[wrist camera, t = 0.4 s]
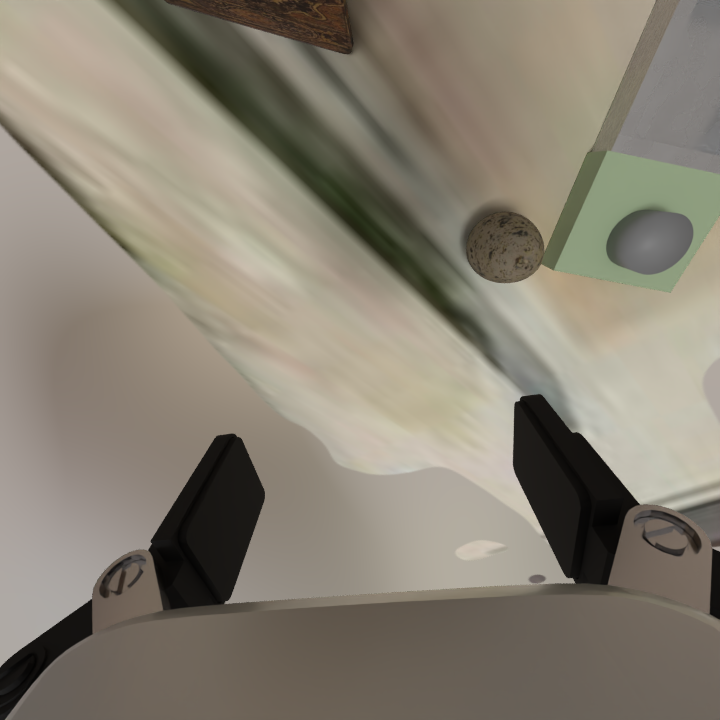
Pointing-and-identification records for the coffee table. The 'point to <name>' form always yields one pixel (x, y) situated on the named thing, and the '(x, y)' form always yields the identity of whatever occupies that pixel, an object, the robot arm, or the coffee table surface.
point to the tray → (671, 90)
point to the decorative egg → (505, 248)
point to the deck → (621, 197)
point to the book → (285, 18)
